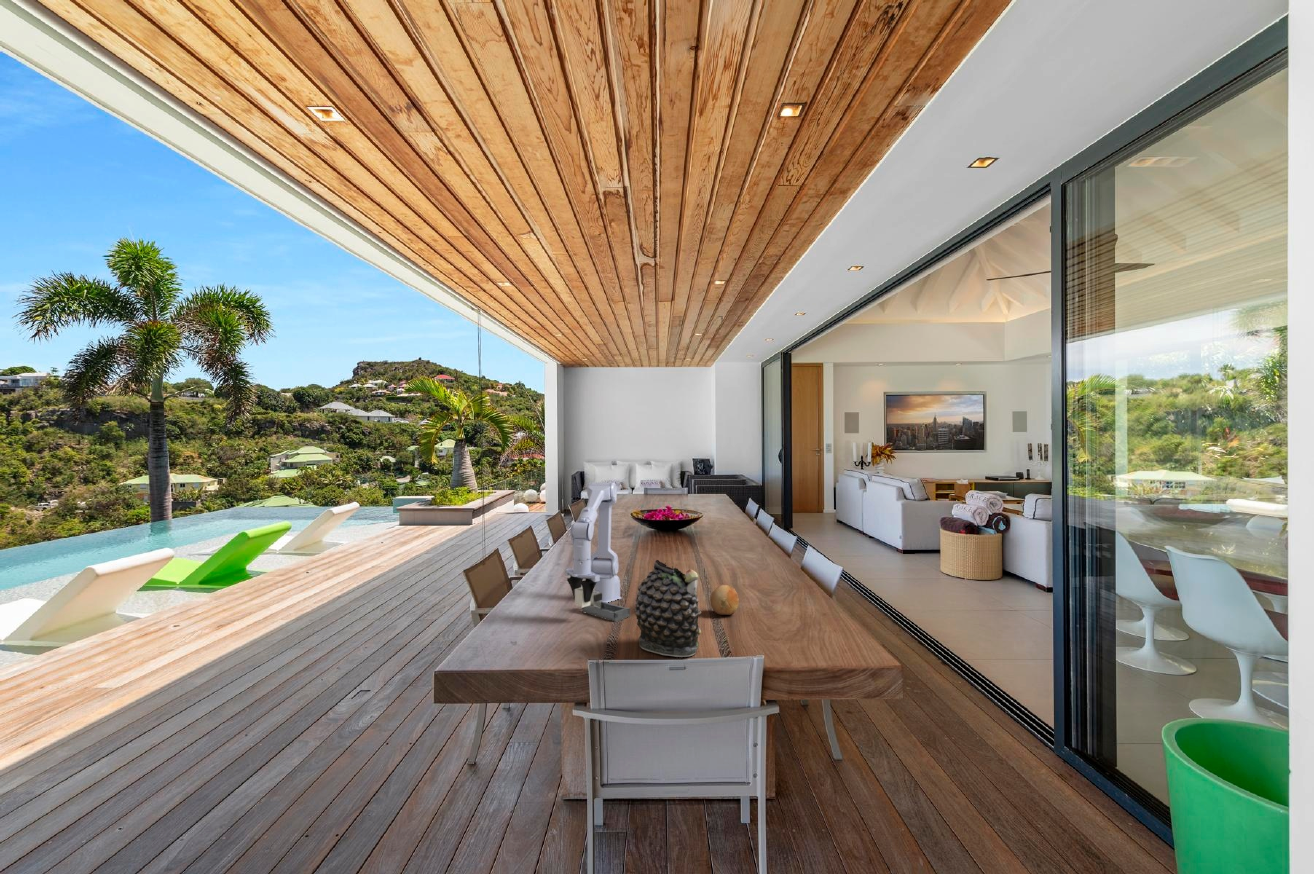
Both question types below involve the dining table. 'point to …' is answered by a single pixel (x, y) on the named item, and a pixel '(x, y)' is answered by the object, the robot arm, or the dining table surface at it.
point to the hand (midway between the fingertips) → (582, 600)
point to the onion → (724, 600)
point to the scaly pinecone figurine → (668, 611)
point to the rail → (605, 608)
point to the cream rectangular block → (580, 598)
